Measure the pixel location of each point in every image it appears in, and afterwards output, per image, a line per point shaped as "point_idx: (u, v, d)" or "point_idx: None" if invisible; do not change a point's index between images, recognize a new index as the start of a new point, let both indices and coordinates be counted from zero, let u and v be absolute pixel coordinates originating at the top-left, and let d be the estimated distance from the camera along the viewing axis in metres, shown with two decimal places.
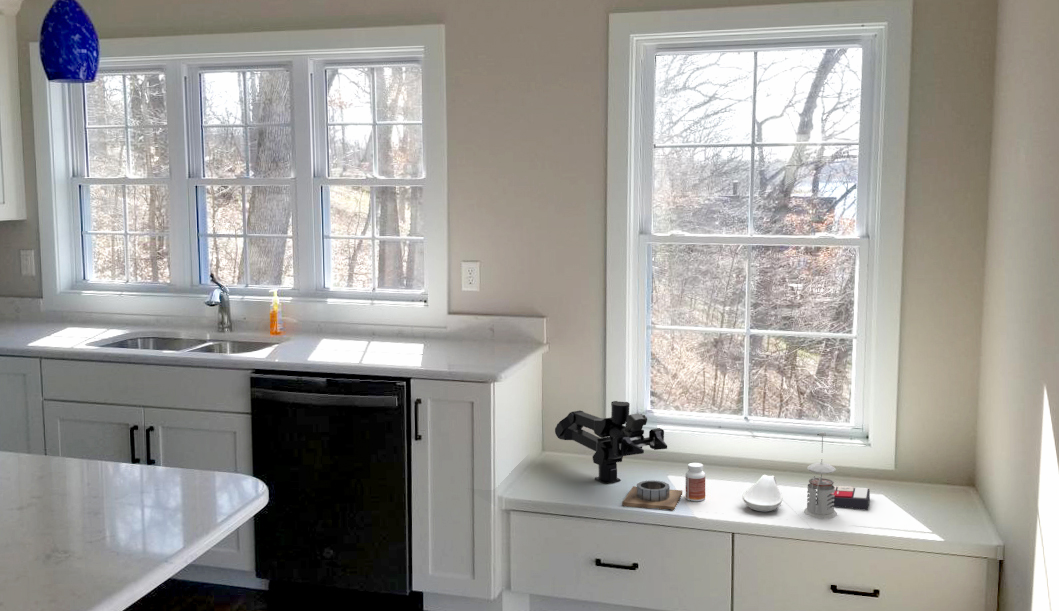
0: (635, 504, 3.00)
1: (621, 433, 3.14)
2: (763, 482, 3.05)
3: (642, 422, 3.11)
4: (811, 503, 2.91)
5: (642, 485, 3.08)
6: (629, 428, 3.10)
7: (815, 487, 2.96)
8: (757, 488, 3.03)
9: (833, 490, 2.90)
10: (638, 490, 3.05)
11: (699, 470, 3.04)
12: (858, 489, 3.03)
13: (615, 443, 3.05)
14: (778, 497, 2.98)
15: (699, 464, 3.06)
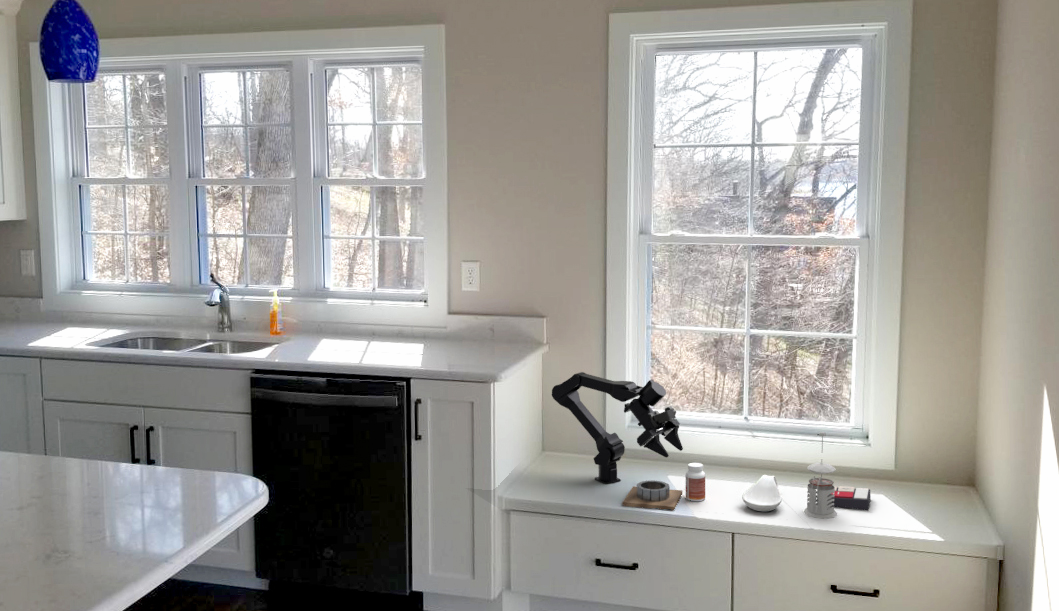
0: (635, 504, 3.00)
1: (646, 416, 3.12)
2: (763, 482, 3.05)
3: None
4: (811, 503, 2.91)
5: (642, 485, 3.08)
6: (659, 421, 3.09)
7: (815, 487, 2.96)
8: (757, 488, 3.03)
9: (833, 490, 2.90)
10: (638, 490, 3.05)
11: (699, 470, 3.04)
12: (859, 489, 3.03)
13: (645, 437, 3.05)
14: (778, 497, 2.98)
15: (699, 464, 3.06)
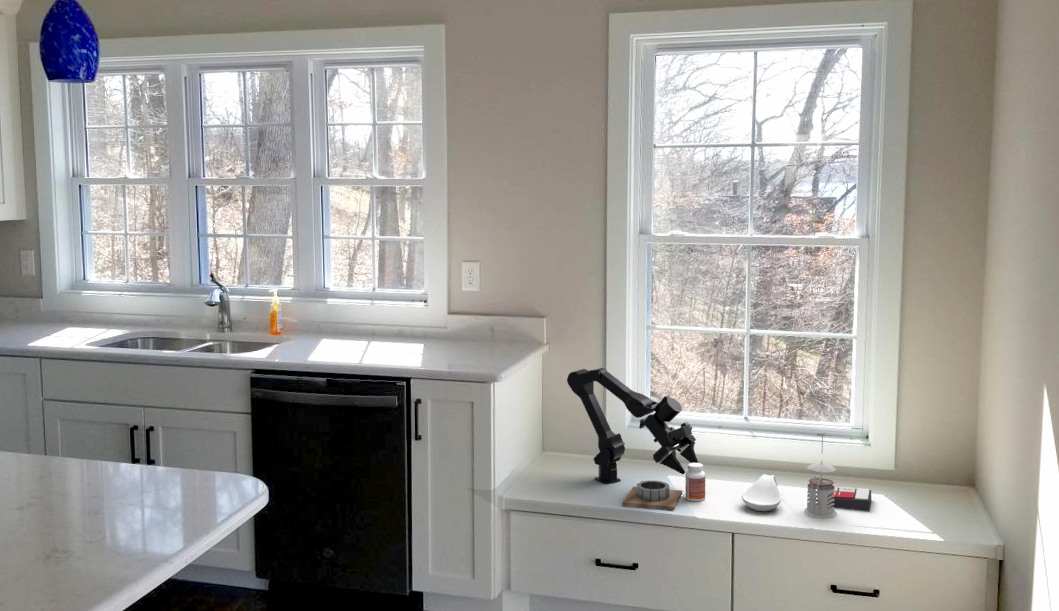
0: (635, 504, 3.00)
1: (662, 432, 3.09)
2: (763, 482, 3.05)
3: None
4: (811, 503, 2.91)
5: (642, 485, 3.08)
6: (675, 437, 3.06)
7: (815, 487, 2.96)
8: (757, 488, 3.04)
9: (833, 490, 2.90)
10: (638, 490, 3.05)
11: (699, 470, 3.04)
12: (860, 490, 3.02)
13: (662, 454, 3.02)
14: (777, 497, 2.98)
15: (699, 464, 3.06)
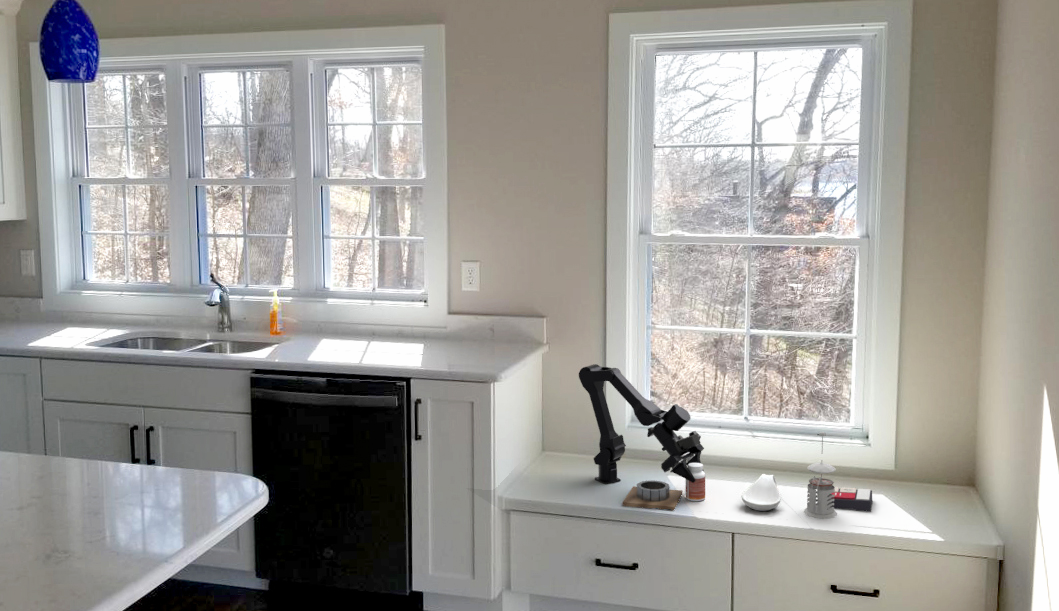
0: (635, 504, 3.00)
1: (670, 441, 3.08)
2: (762, 481, 3.05)
3: None
4: (811, 503, 2.91)
5: (642, 485, 3.08)
6: (684, 446, 3.05)
7: (815, 487, 2.96)
8: (756, 487, 3.04)
9: (833, 490, 2.90)
10: (638, 490, 3.05)
11: (699, 470, 3.04)
12: (861, 490, 3.02)
13: (670, 463, 3.01)
14: (777, 496, 2.98)
15: (699, 464, 3.06)
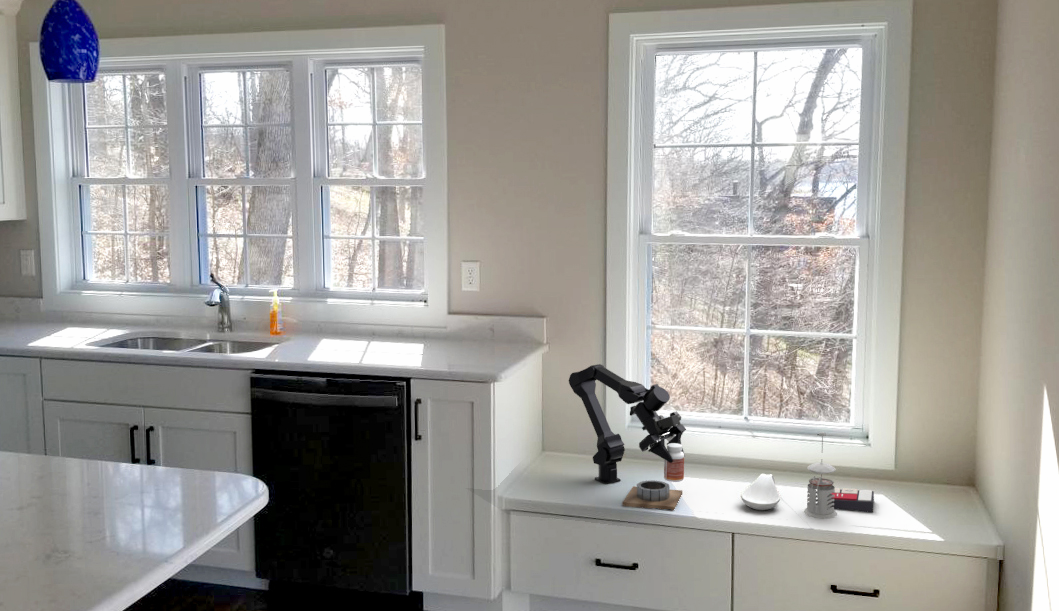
0: (635, 504, 3.00)
1: (650, 421, 3.06)
2: (761, 481, 3.06)
3: None
4: (811, 503, 2.91)
5: (642, 485, 3.08)
6: (663, 426, 3.03)
7: (815, 487, 2.96)
8: (756, 487, 3.05)
9: (833, 490, 2.90)
10: (638, 490, 3.05)
11: (678, 451, 3.02)
12: (862, 491, 3.01)
13: (647, 443, 2.99)
14: (776, 495, 2.99)
15: (678, 445, 3.04)
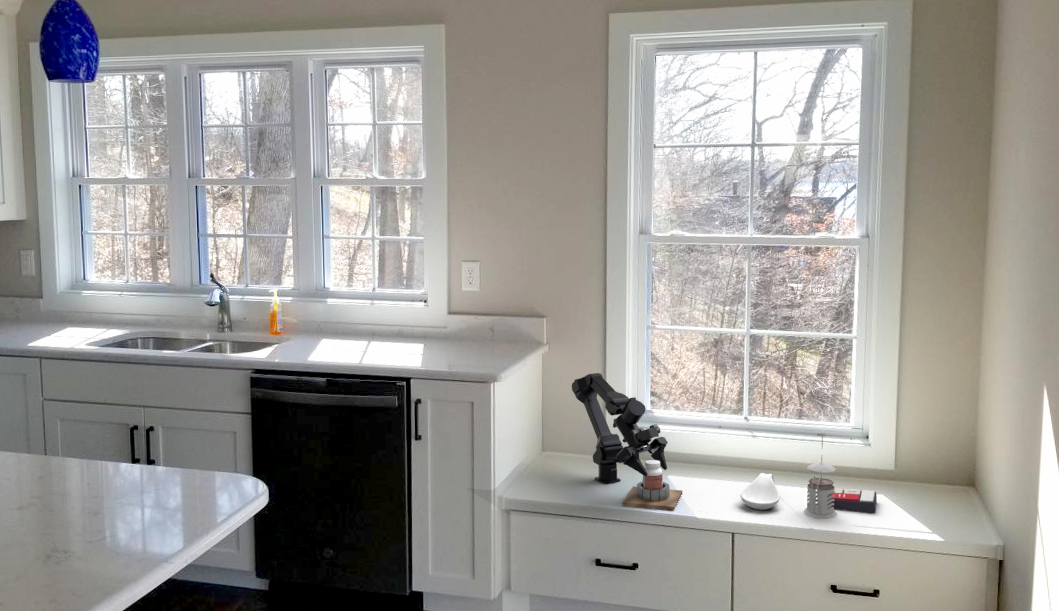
0: (635, 504, 3.00)
1: (629, 433, 3.08)
2: (761, 480, 3.07)
3: None
4: (811, 503, 2.91)
5: (642, 485, 3.08)
6: (641, 439, 3.05)
7: (815, 487, 2.96)
8: (755, 486, 3.05)
9: (833, 490, 2.90)
10: (638, 490, 3.05)
11: (655, 467, 3.03)
12: (865, 492, 3.00)
13: (624, 455, 3.01)
14: (776, 495, 2.99)
15: (656, 461, 3.05)
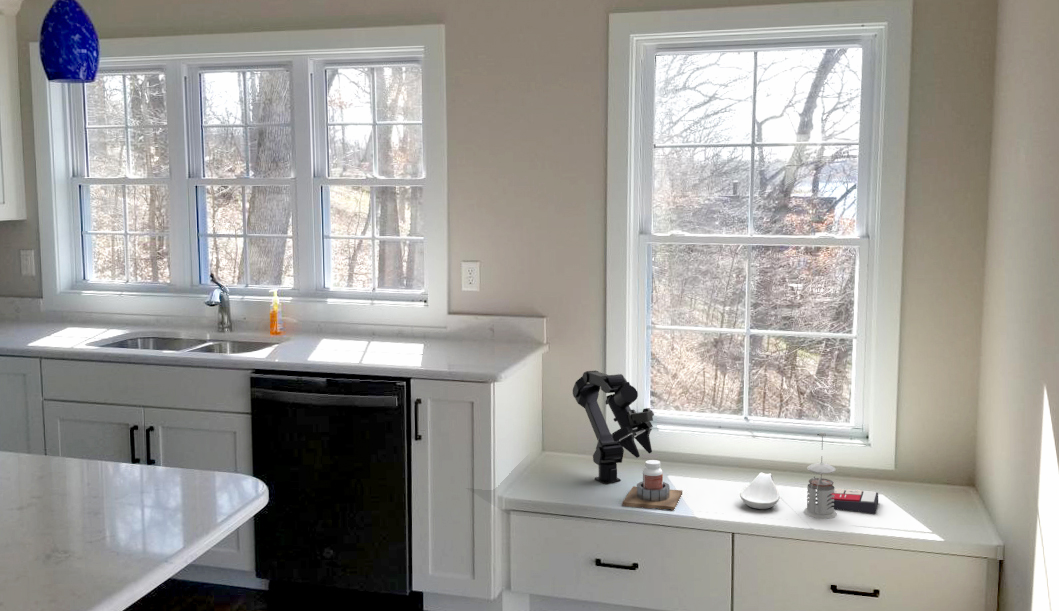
0: (635, 504, 3.00)
1: (624, 413, 3.12)
2: (760, 480, 3.07)
3: None
4: (811, 503, 2.91)
5: (642, 485, 3.08)
6: (636, 421, 3.09)
7: (815, 487, 2.96)
8: (755, 486, 3.06)
9: (833, 490, 2.90)
10: (638, 490, 3.05)
11: (655, 467, 3.03)
12: (866, 493, 3.00)
13: (622, 434, 3.04)
14: (775, 495, 3.00)
15: (656, 461, 3.05)
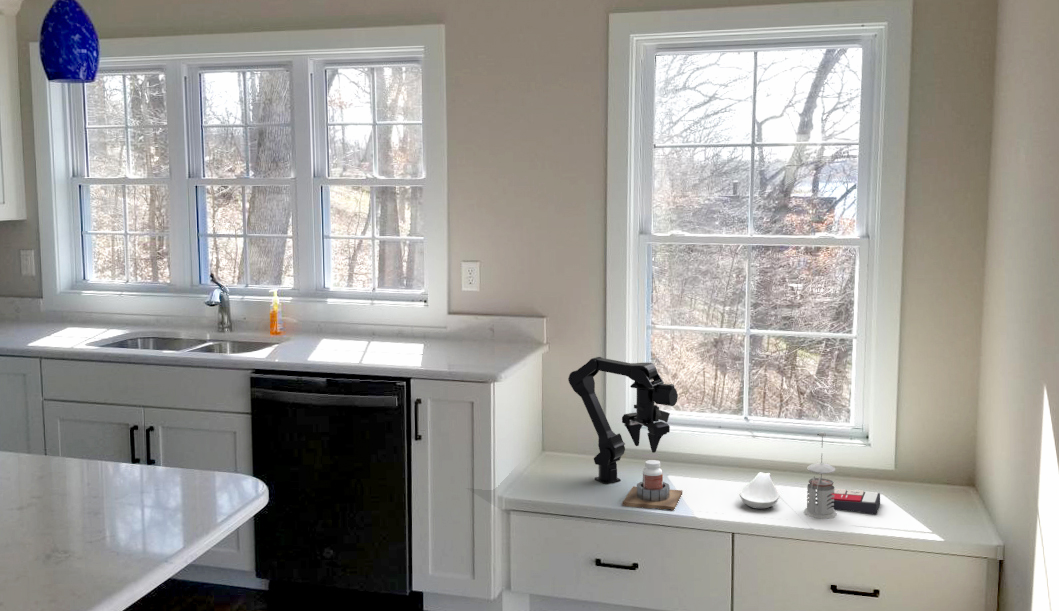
0: (635, 504, 3.00)
1: (653, 406, 3.14)
2: (759, 479, 3.07)
3: None
4: (811, 503, 2.91)
5: (642, 485, 3.08)
6: (660, 418, 3.16)
7: (815, 487, 2.96)
8: (754, 485, 3.06)
9: (833, 490, 2.90)
10: (638, 490, 3.05)
11: (655, 467, 3.03)
12: (868, 493, 2.99)
13: (665, 430, 3.08)
14: (775, 494, 3.00)
15: (656, 461, 3.05)
